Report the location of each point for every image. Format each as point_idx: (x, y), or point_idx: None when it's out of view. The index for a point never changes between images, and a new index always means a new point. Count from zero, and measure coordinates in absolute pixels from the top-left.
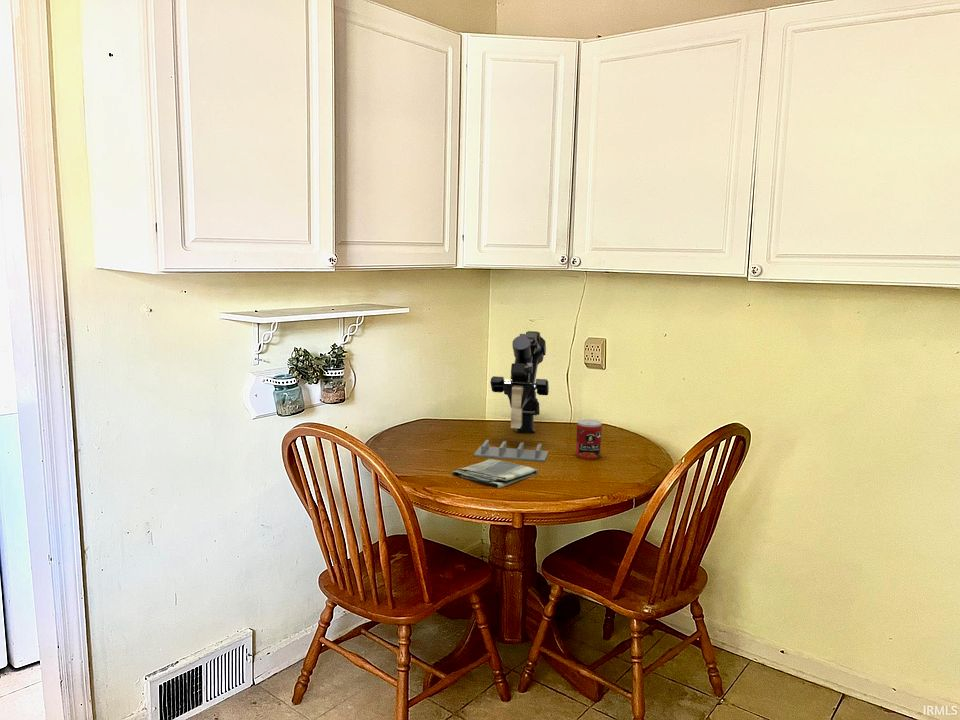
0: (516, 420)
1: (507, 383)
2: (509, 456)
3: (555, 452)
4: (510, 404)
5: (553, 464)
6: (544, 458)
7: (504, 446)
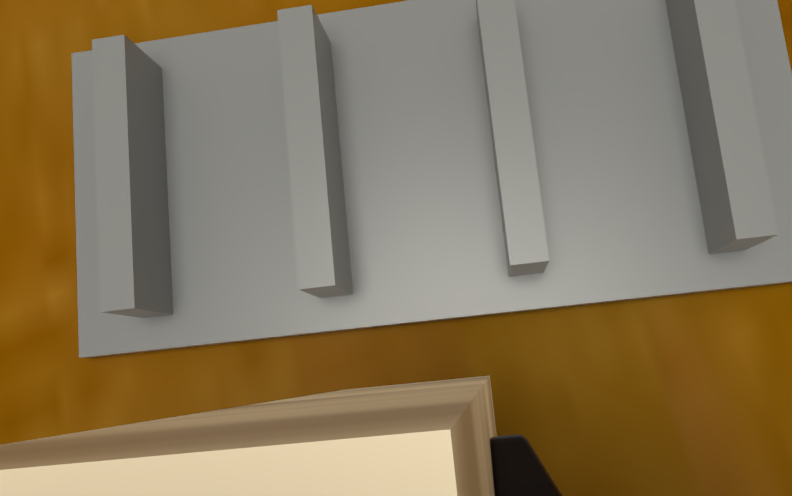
0: (384, 387)
1: None
2: (401, 27)
3: (27, 411)
4: (535, 464)
5: (4, 28)
6: (80, 98)
7: (492, 129)
